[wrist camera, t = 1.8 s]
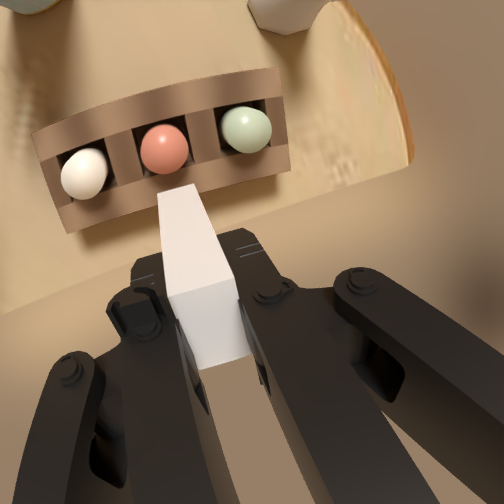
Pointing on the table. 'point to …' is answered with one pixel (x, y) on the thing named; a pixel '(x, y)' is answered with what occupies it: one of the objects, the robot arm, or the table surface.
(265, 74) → the console
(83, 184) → the button ivory
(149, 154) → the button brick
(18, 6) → the bottle
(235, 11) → the table surface
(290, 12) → the flask
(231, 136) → the button sage
